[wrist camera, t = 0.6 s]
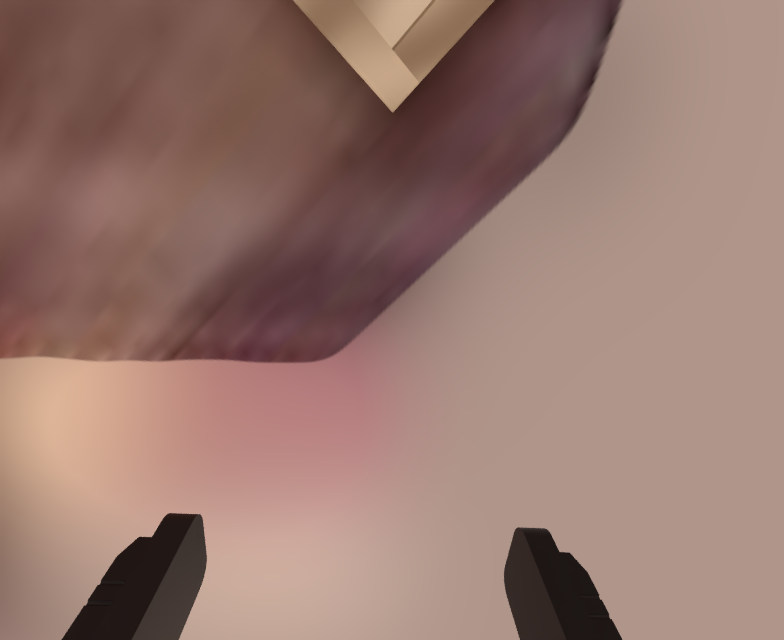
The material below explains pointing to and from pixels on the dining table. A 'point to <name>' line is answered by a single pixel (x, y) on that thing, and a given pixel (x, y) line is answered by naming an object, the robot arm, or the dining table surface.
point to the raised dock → (393, 37)
